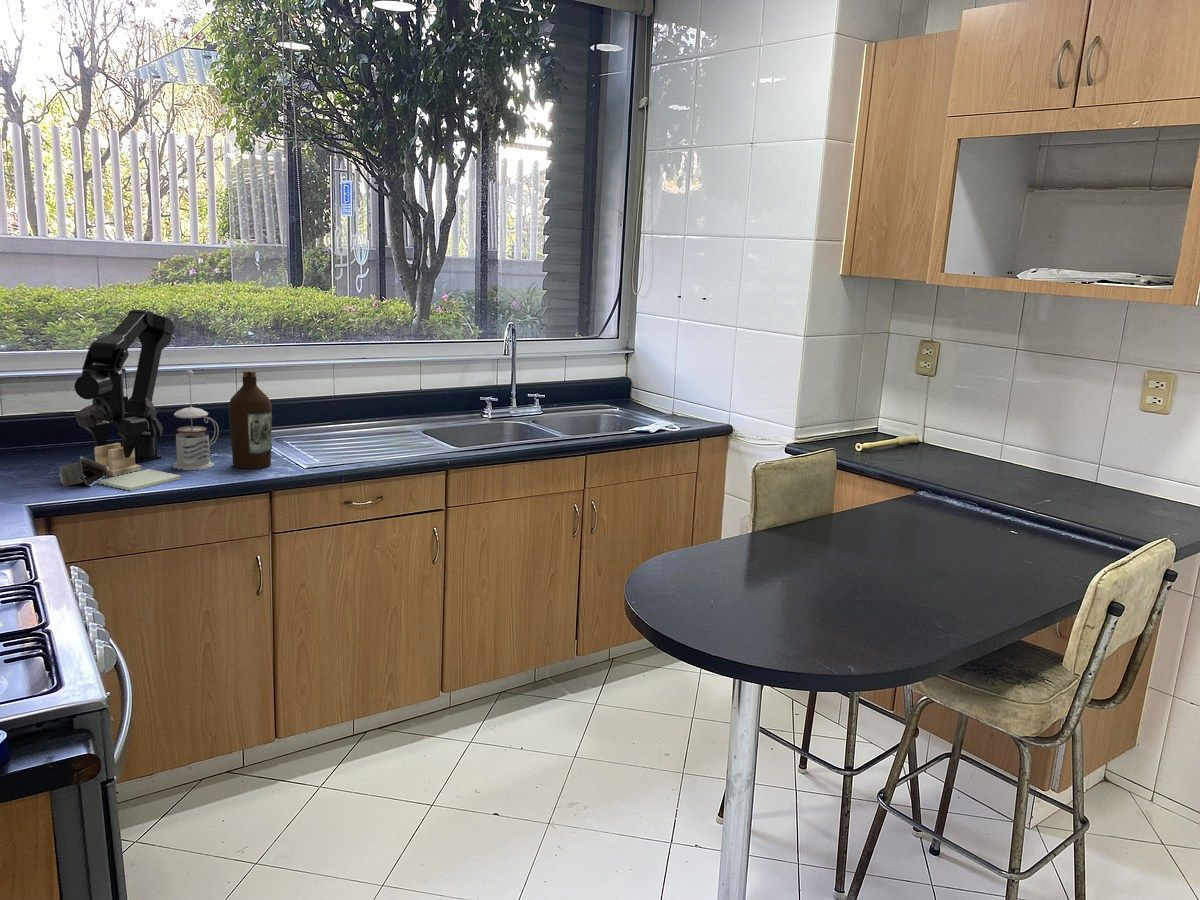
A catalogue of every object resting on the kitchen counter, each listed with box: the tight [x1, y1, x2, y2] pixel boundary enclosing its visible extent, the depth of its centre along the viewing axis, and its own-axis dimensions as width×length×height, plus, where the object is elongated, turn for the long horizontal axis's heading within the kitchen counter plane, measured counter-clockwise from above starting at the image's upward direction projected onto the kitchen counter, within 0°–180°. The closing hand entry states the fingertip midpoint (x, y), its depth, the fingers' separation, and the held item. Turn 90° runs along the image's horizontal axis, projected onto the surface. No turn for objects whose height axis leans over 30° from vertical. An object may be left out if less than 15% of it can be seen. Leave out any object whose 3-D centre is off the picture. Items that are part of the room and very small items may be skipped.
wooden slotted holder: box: [94, 442, 142, 477], centre depth 223 cm, size 8×8×6 cm
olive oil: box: [228, 369, 273, 470], centre depth 234 cm, size 11×11×25 cm
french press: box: [172, 369, 220, 471], centre depth 231 cm, size 10×12×25 cm
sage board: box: [97, 468, 182, 492], centre depth 215 cm, size 14×11×1 cm
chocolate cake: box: [58, 455, 109, 487], centre depth 212 cm, size 10×7×12 cm
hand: (114, 454), depth 222 cm, fingers open, 9 cm apart
